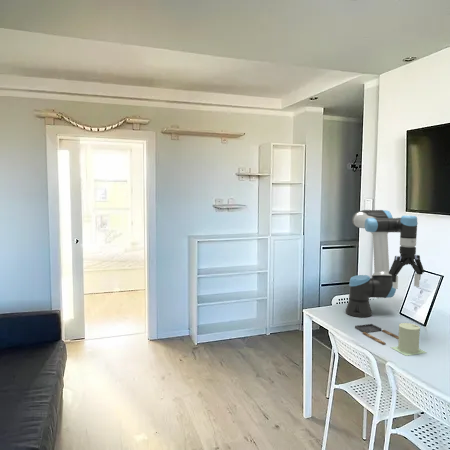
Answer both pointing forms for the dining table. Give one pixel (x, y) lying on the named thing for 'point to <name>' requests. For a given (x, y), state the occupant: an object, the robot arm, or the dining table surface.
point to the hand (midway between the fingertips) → (405, 287)
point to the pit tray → (368, 328)
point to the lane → (378, 339)
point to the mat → (408, 353)
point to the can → (408, 338)
